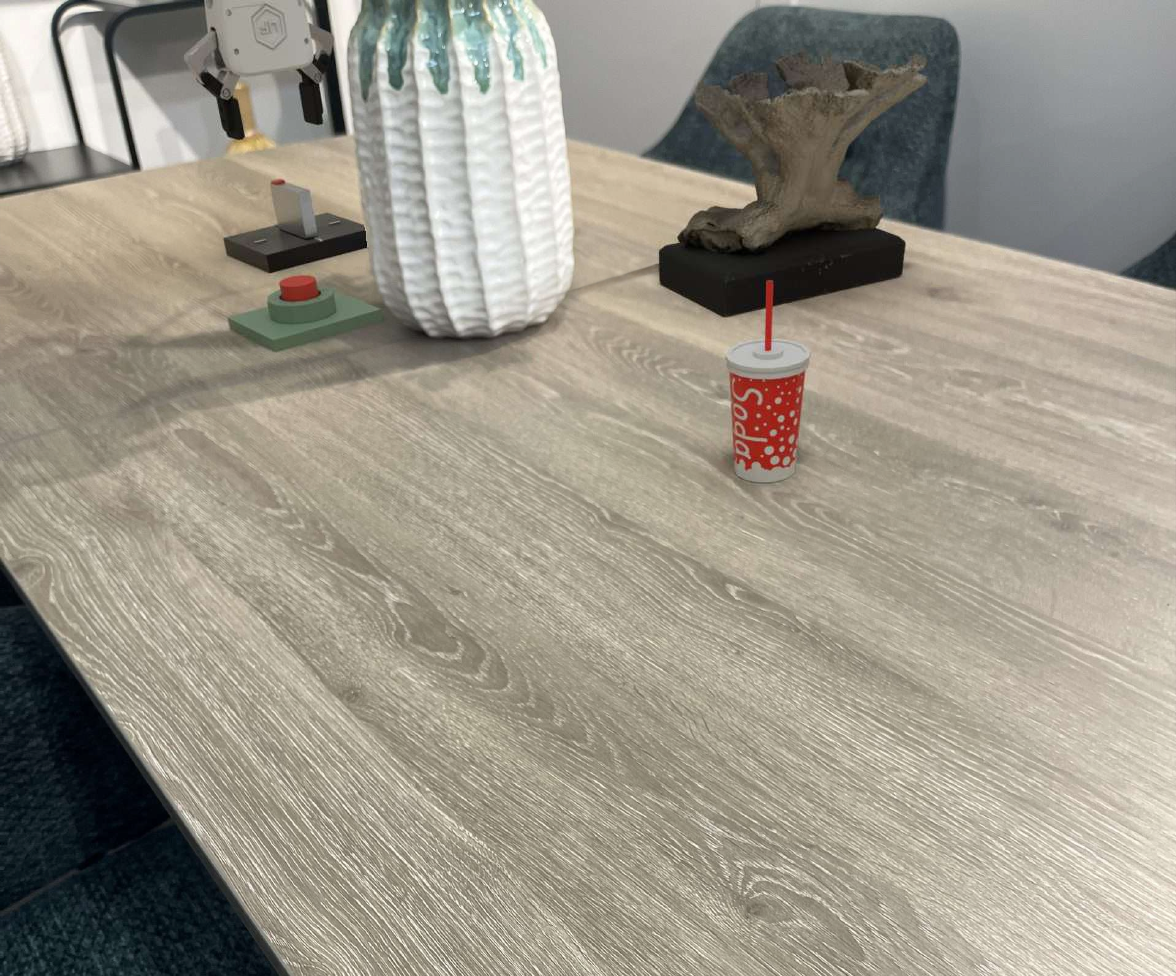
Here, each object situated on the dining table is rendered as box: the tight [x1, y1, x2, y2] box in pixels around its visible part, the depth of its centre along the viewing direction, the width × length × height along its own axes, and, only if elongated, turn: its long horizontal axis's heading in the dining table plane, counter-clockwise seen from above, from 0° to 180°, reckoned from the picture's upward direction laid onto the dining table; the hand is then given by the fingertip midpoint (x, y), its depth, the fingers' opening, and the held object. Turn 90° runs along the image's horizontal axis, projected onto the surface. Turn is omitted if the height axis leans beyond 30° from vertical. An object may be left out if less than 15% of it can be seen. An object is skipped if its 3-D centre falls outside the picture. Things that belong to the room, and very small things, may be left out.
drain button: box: [278, 274, 319, 302], centre depth 126 cm, size 4×4×2 cm
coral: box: [658, 49, 928, 317], centre depth 126 cm, size 25×20×21 cm
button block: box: [227, 284, 383, 353], centre depth 128 cm, size 12×10×4 cm
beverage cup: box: [724, 280, 812, 484], centre depth 93 cm, size 6×6×14 cm
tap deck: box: [222, 212, 368, 274], centre depth 150 cm, size 14×11×3 cm
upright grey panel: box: [269, 178, 318, 239], centre depth 148 cm, size 7×2×5 cm, turn 38°
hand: (275, 130), depth 141 cm, fingers open, 9 cm apart
